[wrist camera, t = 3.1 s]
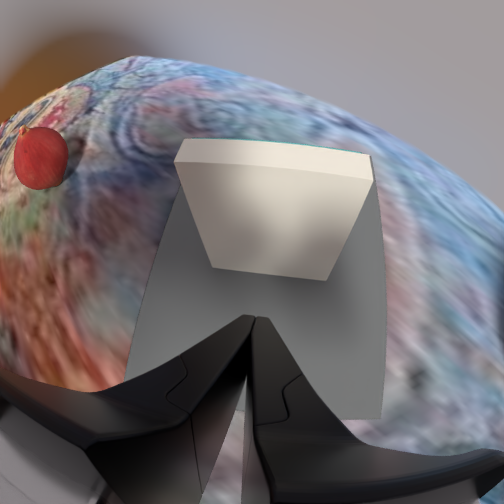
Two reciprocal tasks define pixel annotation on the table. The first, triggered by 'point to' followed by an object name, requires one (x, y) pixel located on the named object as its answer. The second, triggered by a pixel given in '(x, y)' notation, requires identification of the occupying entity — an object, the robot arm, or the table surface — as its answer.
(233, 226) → the tile
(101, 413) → the robot arm
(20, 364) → the table surface
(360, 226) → the mat
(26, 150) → the onion
